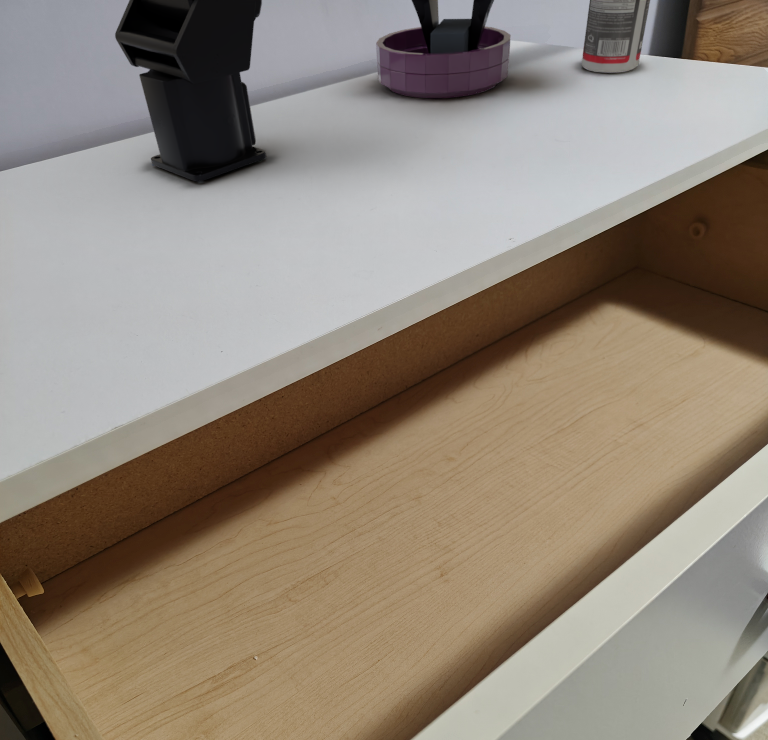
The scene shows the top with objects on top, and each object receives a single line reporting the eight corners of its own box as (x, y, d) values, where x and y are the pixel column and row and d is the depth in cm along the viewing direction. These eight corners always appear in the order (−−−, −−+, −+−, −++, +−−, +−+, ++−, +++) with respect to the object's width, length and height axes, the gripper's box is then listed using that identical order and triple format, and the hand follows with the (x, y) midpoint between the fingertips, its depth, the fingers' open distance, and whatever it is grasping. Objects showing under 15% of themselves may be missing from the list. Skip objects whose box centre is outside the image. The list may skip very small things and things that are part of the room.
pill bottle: (604, 57, 68) (624, -70, 61) (649, 65, 65) (675, -68, 58) (568, 68, 66) (585, -63, 59) (614, 77, 63) (637, -60, 56)
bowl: (449, 108, 59) (450, 61, 56) (352, 87, 65) (349, 44, 62) (533, 77, 64) (537, 33, 62) (437, 60, 71) (437, 20, 68)
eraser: (463, 86, 61) (464, 32, 58) (430, 85, 62) (430, 33, 59) (473, 69, 65) (475, 18, 62) (442, 68, 66) (443, 18, 63)
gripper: (308, -164, 48) (330, 87, 59) (576, -182, 44) (547, 90, 56) (351, -168, 56) (364, 56, 67) (585, -183, 52) (557, 57, 63)
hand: (452, 64), depth 63 cm, fingers closed on eraser, 3 cm apart
